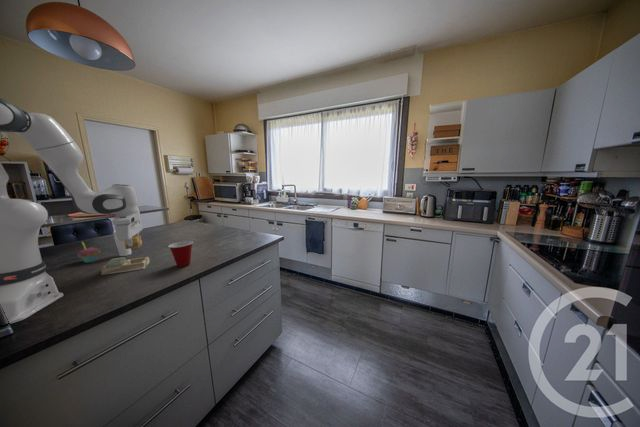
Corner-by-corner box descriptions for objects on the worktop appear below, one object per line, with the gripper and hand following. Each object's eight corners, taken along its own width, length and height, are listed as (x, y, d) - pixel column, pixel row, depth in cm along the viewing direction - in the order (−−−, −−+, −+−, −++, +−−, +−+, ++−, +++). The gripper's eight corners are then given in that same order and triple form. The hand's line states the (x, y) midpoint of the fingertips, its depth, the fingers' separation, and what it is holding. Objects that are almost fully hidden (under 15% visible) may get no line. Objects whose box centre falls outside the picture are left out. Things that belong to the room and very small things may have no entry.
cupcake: (89, 264, 110) (84, 242, 108) (73, 264, 110) (68, 242, 108) (106, 257, 118) (102, 237, 116) (91, 257, 119) (87, 237, 116)
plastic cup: (189, 258, 118) (187, 238, 115) (199, 263, 112) (196, 242, 109) (167, 265, 109) (164, 243, 107) (176, 271, 103) (173, 248, 101)
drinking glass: (123, 257, 119) (119, 232, 116) (114, 256, 120) (109, 231, 117) (136, 253, 125) (132, 229, 122) (127, 252, 127) (123, 228, 124)
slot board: (143, 268, 105) (142, 259, 104) (101, 275, 98) (99, 265, 98) (150, 261, 114) (148, 252, 113) (111, 266, 107) (110, 257, 106)
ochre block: (138, 247, 105) (137, 238, 104) (125, 249, 103) (124, 239, 102) (142, 244, 109) (140, 235, 108) (130, 245, 107) (128, 236, 106)
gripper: (129, 213, 111) (133, 238, 114) (110, 222, 93) (116, 251, 95) (144, 212, 113) (148, 237, 116) (128, 221, 95) (133, 249, 98)
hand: (133, 243), depth 106 cm, fingers closed on ochre block, 5 cm apart
